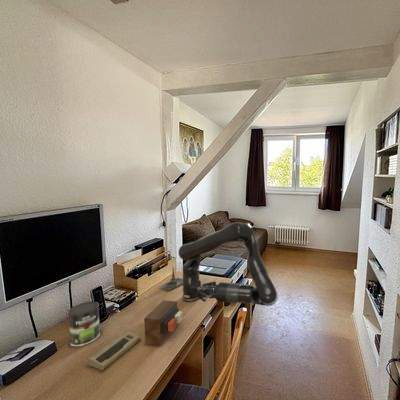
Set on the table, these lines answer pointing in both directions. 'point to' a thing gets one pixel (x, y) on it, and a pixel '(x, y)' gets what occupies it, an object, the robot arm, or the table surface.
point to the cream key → (178, 316)
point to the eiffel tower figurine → (172, 283)
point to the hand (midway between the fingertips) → (190, 289)
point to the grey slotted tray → (113, 351)
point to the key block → (159, 322)
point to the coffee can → (84, 323)
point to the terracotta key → (172, 325)
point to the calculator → (110, 307)
